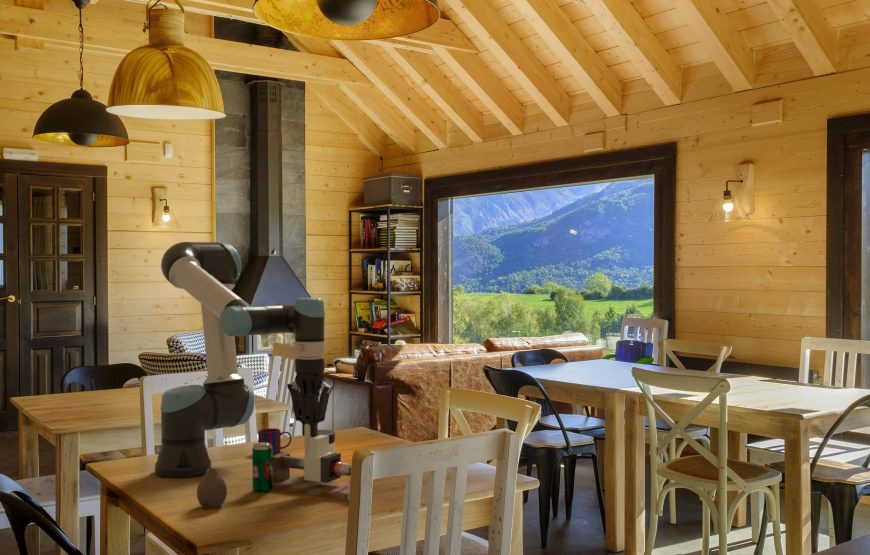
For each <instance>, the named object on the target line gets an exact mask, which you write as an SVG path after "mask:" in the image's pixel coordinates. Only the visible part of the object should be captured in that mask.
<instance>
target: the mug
mask: <svg viewBox="0 0 870 555" xmlns="http://www.w3.org/2000/svg"><path fill="white" fill-rule="evenodd" d="M283 434H288V436H289V441H288V443H287V444H286V445H285V446H284V445H283V446H281V442H282V441H281V439H282V438H281V436H282V435H283ZM257 435H258V436H257V441H258V442H257V443H260V442H268V443H271V446H272V447H273V455H279V454H281V450H283V449H286V448H288V447H289V446H290V444H291V443H292V435H291V432H289V431H281V429H279V428H261V429H258V431H257Z"/></svg>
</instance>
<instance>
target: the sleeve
mask: <svg viewBox="0 0 870 555" xmlns="http://www.w3.org/2000/svg"><path fill="white" fill-rule="evenodd" d="M332 453H333V452H329V436H328V435H319V436H315V437H312V438H310V454H307V455H305V454H304V455H303V458H304V470H303V475H304V476H303V477H304V480H310V481H317V482H321V457H323V456H326V455H329V454H332ZM331 462H332V461H331ZM329 475H330V474H329Z"/></svg>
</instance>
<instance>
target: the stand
mask: <svg viewBox="0 0 870 555" xmlns="http://www.w3.org/2000/svg"><path fill="white" fill-rule="evenodd" d="M283 456H291V454H290V453H287V452H286V453H285V452H282V453H278V454H275V455H273V489H272V490H279V491H286V492H292V493H297V494H298V493H300V494H304V495H305V494H306V495H312V496H319V497H325V498H332V499H338V500H339V499H340V500H346V501H349V500H348V495H349V483H350V482H339V481H334V480H333V481H331V482H328V483H324V482H317V481H310V480H304V476H297V475H296V476H295V475H291V472H290V470H291V468H285V467H282V466H281V464H280V461H281V458H282V457H283ZM350 475H351V467H350Z"/></svg>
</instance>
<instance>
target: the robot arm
mask: <svg viewBox="0 0 870 555" xmlns="http://www.w3.org/2000/svg"><path fill="white" fill-rule="evenodd" d="M160 263H161V264H160V265H161V267H160V268H161V272H162V274H163V277H164V278H165V279H166V281H168V282H169V284H171V285H172V286H173V287H175V288H177V289H183V290H184V291H185V292H186V293H187V294H189V295H190V296H191V297H193V298H194V299H195V300H196V301H197V302H198V303H200V306H201V317H202V327H203V328H202V329H203V339H204V340H203V341H204V348H205V349H204V350H205V359H206V361H205V362H206V371H207V372H206V374H207V377H206V378H205V380H204V381H203V382H202V385H201V384H189V385H181V386H176V387H173V388H170V389H167V390H166V391H164V393H163V394H162V395H161V402H160V413H161V414H160V415H161V416H160V420H161V421H160V422H161V424H160V425H161V426H160V428H161V429H160V431H161V432H160V433H161V434H160V435H161V436H160V437H161V438H160V439H161V442H160V444H161V446H160V449H159V451H158V456H157V459H156V462H155V463H154V475H156V476H158V477H161V478H168V479H169V478H173V479H175V478H176V479H177V478H178V479H182V478H191V477H198V476H202V475H203V476H204V475H205V473H206V471H207V470H209V469H212V460H211V459H210V457H209V453H208V449H207V448H208V447H207V445H206V436H205V435H206V431H213V430H217V429H218V430H219V429H224V428H234V427H236V426H240V425H243V424H246V423H248V421H249V420H250V419H251V416H252V415H253V413H254V409H255V405H256V404H255V400H256V399H255V395H254V394H255V393H254V391H253V390H252V387H251V386H249V385H248V384H245V378H244V377H243V376H242V375H241V374H240V373H239V369H238V359H237V357H238V356H237V349H236V340H235V339H236V337H246V336H258V335H272V334H273V335H274V334H287V333H288V334H294V356H295V357H297V358H295V359H294V372H295V374H296V375H295V377H294V380H293V381H292V382H290V383H287V385H286V387H287V389H288V391H289V393H290V398H291V404H292V408H293V409H292V410H293V413H294V419H295V421H296V422H300V423H301V425H302V426H301V431H302V432H301V434H302V436H303V437H304V443H303V444H304V451H305V450H310V438H312V437H315V436H317V434H318V431H317V430H319V429H318V428H319V427H318V426H319V425H318V424H319V423H322V422H324V421H325V420H326V419H325V418H326V414H327V409H328V404H329V403H328V402H329V399H330V395H331V393H332V391H333V389H334V387H333V385H330V384H328V383H326V380H325V376H324V374H325V359H324V358H323V357H325V354H326V353H325V352H326V350H325V316H326V313H325V302H324V300H323V298H320V297H298V298H295V300H294V304H285V303H275V304H267V305H262V304H260V305H252V304H251V305H250V304H249V303H248V302H246V301H245V300H244V299H242V298H241V297H240V296H238V295H237V294H236V293H234V292H233V291H232V290H233V289H234V288H235V286H236V281H237V280H238V279H239V277H240V276H241V272H242V261H241V257H240V255H239V252H238V250H236V248H235V247H233V245H231V244H230V243H225V242H224V243H223V242H217V241H211V242H209V241H208V242H207V241H203V242H202V241H181V242H177V243H175V244H172V246H170V247H169V248H168V249H167V250H166V251H165V252H164V254H163V255H162V258H161V262H160Z"/></svg>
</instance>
